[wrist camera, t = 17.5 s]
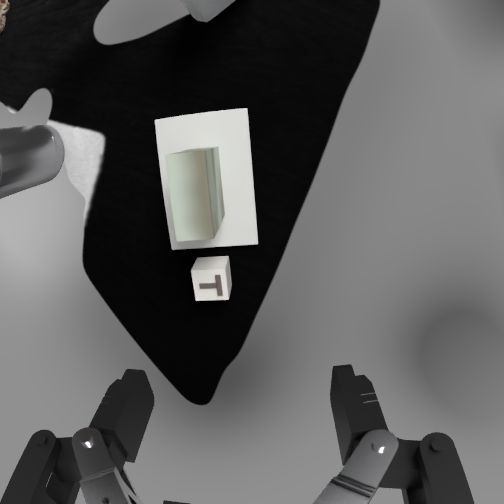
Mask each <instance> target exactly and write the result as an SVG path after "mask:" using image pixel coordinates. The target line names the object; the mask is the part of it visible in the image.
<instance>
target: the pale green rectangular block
mask: <svg viewBox="0 0 504 504" xmlns="http://www.w3.org/2000/svg"><path fill="white" fill-rule="evenodd" d="M165 159H166V168H167V176H168V184H169V192H170V200H171V207H172V214H173V221H174V228H175V235H176V241H190V240H206V239H214V238H215V235H216V233H217V231H218V229H219V226H220V224H221V222H222V220H223V218H224V215H225V210H224V200H223V190H222V179H221V168H220V157H219V146H215V147H205V148H196V149H188V150H184V151H180V152H176V153H172V154H168V155H165Z"/></svg>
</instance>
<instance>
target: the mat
mask: <svg viewBox="0 0 504 504" xmlns="http://www.w3.org/2000/svg"><path fill="white" fill-rule="evenodd" d="M155 127H156V137H157V147H158V155H159V164H160V172H161V180H162V187H163V195H164V202H165V209H166V215H167V222H168V228H169V234H170V240H171V246H172V250H177V249H192V248H207V247H223V246H238V245H254V244H258V235H257V222H256V209H255V197H254V184H253V172H252V159H251V147H250V135H249V123H248V110H247V108H243V109H232V110H222V111H213V112H205V113H197V114H190V115H183V116H176V117H170V118H164V119H158V120H155ZM215 146H219V157H220V168H221V179H222V190H223V200H224V210H225V215H224V218H223V220H222V222H221V224H220V226H219V229H218V231H217V233H216V235H215V238H214V239H206V240H190V241H176V235H175V228H174V221H173V214H172V207H171V200H170V192H169V184H168V176H167V168H166V159H165V155H168V154H172V153H176V152H180V151H184V150H188V149H196V148H205V147H215Z"/></svg>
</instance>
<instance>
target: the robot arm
mask: <svg viewBox="0 0 504 504" xmlns="http://www.w3.org/2000/svg"><path fill="white" fill-rule="evenodd" d="M63 159H64V146H63V142H62V139H61V137H60V135H59V133H58V132H57V131H56V130H55V129H54V128H53V127H51V126H48V125H37V126H23V127H13V128H4V129H0V199H1V198H3V197H6V196H9V195H11V194H14V193H17V192H20V191H22V190H25V189H28V188H31V187H34V186H37V185H40V184H43V183H46V182H48V181H50V180H52V179H53V178H54V177H56V175H57V174H58V173H59V171H60V169H61V167H62V163H63ZM330 400H331V407H332V412H333V417H334V422H335V427H336V432H337V437H338V443H339V448H340V454H341V459H342V464H343V466H344V467H343V469H342V470H341V472H340V473H339V474H338V475H337V476H336V477H334V478H333V479H332V480H331V481H330V482H329V483H328V484H327V486H326V487H325V488H324V490H323V491H322V493H321V494H320V495H319V496H318V497H317V499H316V500H315V501H314V503H313V504H369V502H370V501H371V499H372V497H373V496H374V494H375V493H376V491H377V489H378V487H382V488H398V489H401V490H402V494H403V500H404V504H474V501H473V498H472V494H471V491H470V488H469V485H468V482H467V479H466V476H465V473H464V470H463V467H462V464H461V461H460V459H459V456H458V453H457V450H456V448H455V445H454V442H453V440H452V439H451V438H450V437H449V436H447V435H446V434H443V433H438V432H435V433H431V434H428V435H427V436H425V437H424V438H423V439H422V441H414V440H403V439H399V438H397V437H396V436H395V435H394V434H393V433H391V432H390V431H389V430H388V428H387V425H386V422H385V419H384V416H383V413H382V410H381V407H380V405H379V402H378V399H377V396H376V394H375V391H374V388H373V385H372V383H371V381H370V380H369V379H367V377H366V376H365V375H359V376H355V374H354V371H353V368H352V366H351V365H340V366H333V370H332V380H331V390H330ZM101 402H102V403H100V405H99V407H98V409H97V411H96V413H95V415H94V417H93V419H92V421H91V423H90V425H89V427H88V428H83V429H80V430H79V431H77V432H76V433H75V434H74V436H73V437H68V438H67V437H66V438H56V436H55V435H54V434H53V433H52V432H51V431H49V430H40V431H38V432H36V433H34V434H33V435H32V437H31V438H30V440H29V442H28V444H27V446H26V448H25V450H24V452H23V454H22V456H21V458H20V460H19V462H18V464H17V466H16V468H15V471H14V473H13V475H12V477H11V479H10V481H9V484H8V486H7V488H6V490H5V493H4V495H3V497H2V499H1V502H0V504H75V500H76V498H77V495H78V492H79V488H80V487H81V489H82V492H83V495H84V498H85V501H86V504H143V503H142V502H141V500H140V499H139V497H138V495H137V493H136V491H135V489H134V487H133V485H132V483H131V481H130V479H129V477H128V475H127V473H126V471H125V469H124V467H123V466H124V464H125V461H127V462H133V463H134V462H135V459H136V456H137V453H138V450H139V447H140V444H141V441H142V439H143V435H144V433H145V430H146V427H147V424H148V421H149V418H150V415H151V412H152V409H153V406H154V394H153V391H152V389H151V386H150V384H149V381H148V378H147V376H146V373H145V371H143V370H135V369H127V370H126V371H125V373H124V375H123V377H122V379H121V380H119V379H117V380H116V381H115V382H114V383H112V385H110V386H109V388H108V390H107V392H106V394H105V397H103V399H102V401H101ZM51 472H52V474H51ZM50 475H51V477H50ZM49 477H50V479H49ZM48 479H49V482H48ZM47 482H48V484H47ZM46 484H47V487H46ZM163 504H189V503H179V502H172V501H165V500H164V502H163Z"/></svg>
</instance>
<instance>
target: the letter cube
mask: <svg viewBox="0 0 504 504" xmlns="http://www.w3.org/2000/svg"><path fill="white" fill-rule="evenodd" d="M191 274H192V280H193V286H194V292H195V298H196V301H206V300H229V296H230V291H231V286H232V282H231V273H230V264H229V256H219V257H201V258H197V259H196V261H195V263H194V265H193V267H192V270H191Z"/></svg>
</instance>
